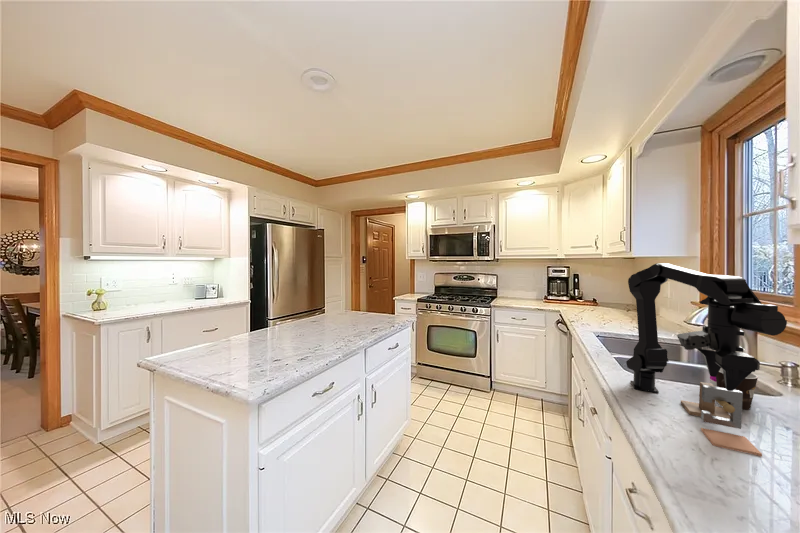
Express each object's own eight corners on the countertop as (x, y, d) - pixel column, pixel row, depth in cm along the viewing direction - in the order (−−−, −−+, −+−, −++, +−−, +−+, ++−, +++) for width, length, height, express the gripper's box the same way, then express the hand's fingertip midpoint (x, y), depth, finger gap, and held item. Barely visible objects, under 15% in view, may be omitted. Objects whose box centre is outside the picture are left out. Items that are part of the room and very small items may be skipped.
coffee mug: (734, 397, 93) (736, 367, 92) (766, 412, 84) (767, 379, 84) (695, 396, 94) (696, 366, 94) (721, 411, 85) (723, 377, 85)
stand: (680, 403, 90) (681, 376, 90) (721, 410, 86) (722, 382, 85) (703, 431, 76) (705, 399, 75) (754, 442, 71) (755, 408, 71)
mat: (700, 429, 77) (701, 427, 77) (744, 438, 73) (744, 436, 73) (713, 445, 70) (713, 443, 70) (761, 456, 67) (762, 453, 67)
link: (701, 418, 79) (702, 384, 78) (737, 426, 76) (739, 390, 75) (703, 421, 78) (704, 387, 77) (741, 429, 74) (742, 392, 74)
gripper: (670, 314, 87) (668, 365, 88) (695, 329, 71) (693, 391, 72) (722, 318, 82) (720, 372, 83) (762, 335, 66) (759, 402, 66)
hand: (720, 383), depth 76 cm, fingers open, 9 cm apart
